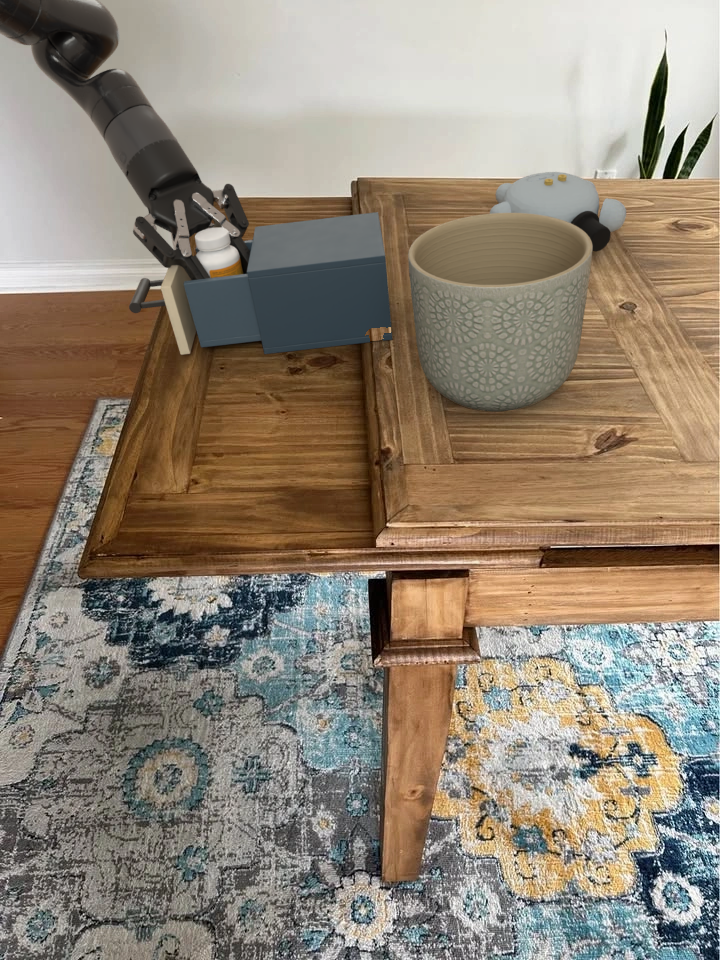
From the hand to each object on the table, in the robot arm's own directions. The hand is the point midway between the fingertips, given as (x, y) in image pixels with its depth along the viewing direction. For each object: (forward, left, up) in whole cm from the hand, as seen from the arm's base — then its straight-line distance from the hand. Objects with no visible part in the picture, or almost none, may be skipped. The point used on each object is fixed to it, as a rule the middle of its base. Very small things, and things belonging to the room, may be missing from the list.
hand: (228, 277), depth 88 cm
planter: (+29, -18, -8) cm, 35 cm away
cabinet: (+11, +1, -8) cm, 13 cm away
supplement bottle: (-1, +1, -5) cm, 5 cm away
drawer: (-2, +1, -7) cm, 7 cm away
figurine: (+44, +18, -8) cm, 48 cm away
